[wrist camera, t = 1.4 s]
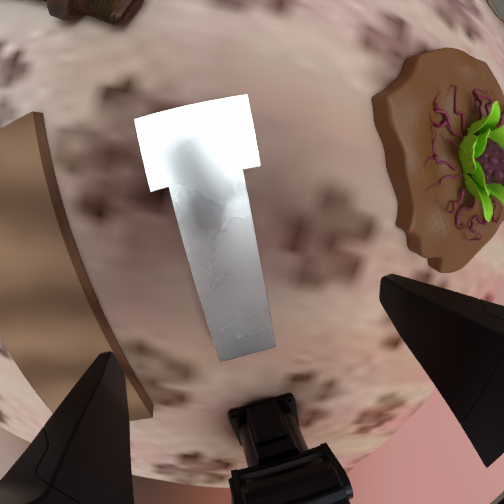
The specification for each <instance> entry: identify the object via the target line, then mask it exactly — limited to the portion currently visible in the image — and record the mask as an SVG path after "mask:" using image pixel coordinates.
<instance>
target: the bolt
mask: <svg viewBox="0 0 504 504" xmlns="http://www.w3.org/2000/svg"><path fill="white" fill-rule="evenodd" d="M43 1H47V6H48V10H49V13H50V15H51V16H54V17H57V18H60V19H73V18H78V17H81V16H83V15H84V14H88V15H91V16H93V17H96V18H99V19H101V20H104V21H107V22H108V23H112V24H113V25H117V24H123V23H125V22H127V21H128V20H129V19H130V18H131V17H132V16H133V14H134V13H135V12H136V11H137V10H138V8H139V7H140V6H141V4H142V2H143V0H43Z"/></svg>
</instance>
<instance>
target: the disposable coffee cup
mask: <svg viewBox="0 0 504 504" xmlns="http://www.w3.org/2000/svg"><path fill="white" fill-rule="evenodd" d="M487 1H488V3H489V5H490V7H491V8H492V10H493V11H494V13H495V14H496V15H497V16H498V17H499V18H500V19H501V20H504V0H487Z"/></svg>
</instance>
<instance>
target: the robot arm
mask: <svg viewBox="0 0 504 504" xmlns="http://www.w3.org/2000/svg"><path fill="white" fill-rule="evenodd" d="M379 299H380V302H381V304H382V306H383V308H384V309H385V311H386V313H387V314H388V316H389V318H390V319H391V321H392V323H393V325H394V326H395V328H396V330H397V331H398V333H399V335H400V336H401V338H402V339H403V341H404V342H405V343H406V345H407V346H408V348H409V349H410V350H411V352H412V353H413V354H414V356H415V357H416V359H417V360H418V362H419V363H420V364H421V366H422V367H423V369H424V370H425V372H426V373H427V374H428V376H429V377H430V379H431V380H432V382H433V383H434V385H435V386H436V388H437V389H438V390H439V392H440V394H441V395H442V397H443V398H444V400H445V401H446V403H447V404H448V406H449V407H450V409H451V410H452V412H453V413H454V415H455V417H456V418H457V420H458V421H459V423H460V424H461V426H462V428H463V429H464V431H465V433H466V435H467V436H468V438H469V439H470V441H471V443H472V444H473V446H474V448H475V449H476V451H477V452H478V455H479V456H480V458H481V460H482V461H483V463H484V465H485V466H486V468H487V467H489V466H490V465H491V464H492V463H493V462H494V461H495V460H496V459H497V458H499V457H500V456H501V455H502V454H503V453H504V306H502V305H498V304H495V303H491V302H488V301H484V300H481V299H478V298H474V297H471V296H468V295H464V294H461V293H458V292H454V291H451V290H447V289H444V288H441V287H437V286H434V285H430V284H427V283H423V282H420V281H416V280H413V279H409V278H406V277H402V276H399V275H395V274H389V275H386V276H383V277H382V278H381V283H380V294H379ZM228 417H229V420H230V422H231V424H232V427H233V429H234V431H235V433H236V436H237V438H238V440H239V442H240V444H241V445H242V446H243V449H244V453H245V457H246V461H247V464H248V468H244V469H239V470H237V469H235V470H231V475H232V477H231V478H230V479H229V485H230V489H231V494H232V504H350V502H349V500H350V499H352V498H353V490H352V487H351V483H350V481H349V478H348V476H347V474H346V472H345V471H344V469H343V467H342V466H341V464H340V463H339V461H338V460H337V458H336V457H335V455H334V454H333V452H332V451H331V449H330V448H329V446H328V445H327V443H323V444H320V446H318V447H315V448H312V449H308V447H307V445H306V442H305V440H304V438H303V436H302V433H301V431H300V429H299V424H298V417H297V410H296V403H295V398H294V396H293V394H288V395H284V396H281V397H278V398H275V399H271V400H268V401H264V402H261V403H257V404H254V405H250V406H246V407H243V408H239V409H235V410H231V411H229V412H228ZM133 497H134V496H133V487H132V473H131V457H130V427H129V408H128V399H127V390H126V379H125V372H124V369H123V367H122V366H121V364H120V363H119V361H118V359H117V358H116V356H115V354H114V353H113V352H111V351H109V352H103V353H100V354H99V355H98V356H97V358H96V359H95V360H94V361H93V363H92V364H91V365H90V366H89V368H88V369H87V370H86V371H85V373H84V374H83V375H82V377H81V378H80V379H79V380H78V382H77V383H76V384H75V385H74V387H73V388H72V389H71V391H70V392H69V393H68V395H67V396H66V397H65V398H64V400H63V401H62V402H61V404H60V405H59V406H58V408H57V409H56V410H55V412H54V413H53V414H52V416H51V417H50V418H49V420H48V421H47V422H46V424H45V425H44V427H43V428H42V429H41V431H40V432H39V433H38V435H37V436H36V437H35V439H34V440H33V441H32V443H31V444H30V445H29V447H28V448H27V449H26V450H25V452H24V453H23V454H22V455H21V456H20V458H19V459H18V460H17V461H16V462H15V464H14V465H13V466H12V467H11V468H10V470H9V471H8V472H7V473H6V474H5V476H4V477H3V478H2V479H1V480H0V504H134V498H133ZM490 504H504V491H503V492H502V494H500V495H499V496H498V497H497V498H496V499H495V500H494V501H493V502H491V503H490Z"/></svg>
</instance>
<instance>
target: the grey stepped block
mask: <svg viewBox="0 0 504 504" xmlns="http://www.w3.org/2000/svg"><path fill="white" fill-rule="evenodd" d="M134 121H135V126H136V131H137V135H138V140H139V145H140V149H141V154H142V158H143V163H144V167H145V171H146V175H147V179H148V183H149V187H150V191H151V192H152V191H155V190H159V189H163V188H167V187H169V190H170V194H171V198H172V202H173V206H174V210H175V214H176V218H177V222H178V225H179V229H180V233H181V237H182V240H183V244H184V248H185V251H186V255H187V258H188V262H189V265H190V269H191V272H192V276H193V279H194V282H195V286H196V289H197V292H198V296H199V299H200V302H201V305H202V309H203V312H204V315H205V318H206V321H207V324H208V327H209V330H210V334H211V337H212V340H213V343H214V346H215V349H216V352H217V354H218V357H219V360H220V362H222V361H226V360H230V359H234V358H238V357H241V356H245V355H249V354H252V353H256V352H259V351H263V350H266V349H270V348H273V347H276V343H275V338H274V333H273V327H272V322H271V316H270V311H269V305H268V300H267V295H266V289H265V284H264V279H263V273H262V268H261V263H260V257H259V252H258V247H257V241H256V236H255V231H254V226H253V220H252V215H251V210H250V204H249V199H248V194H247V189H246V184H245V178H244V173H243V169H247V168H252V167H257V166H261V164H260V158H259V153H258V148H257V142H256V137H255V132H254V126H253V121H252V116H251V111H250V105H249V100H248V95H247V94H246V95H240V96H233V97H227V98H222V99H216V100H211V101H206V102H201V103H196V104H191V105H187V106H182V107H178V108H174V109H170V110H166V111H162V112H158V113H154V114H151V115H147V116H143V117H140V118H137V119H134Z"/></svg>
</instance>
